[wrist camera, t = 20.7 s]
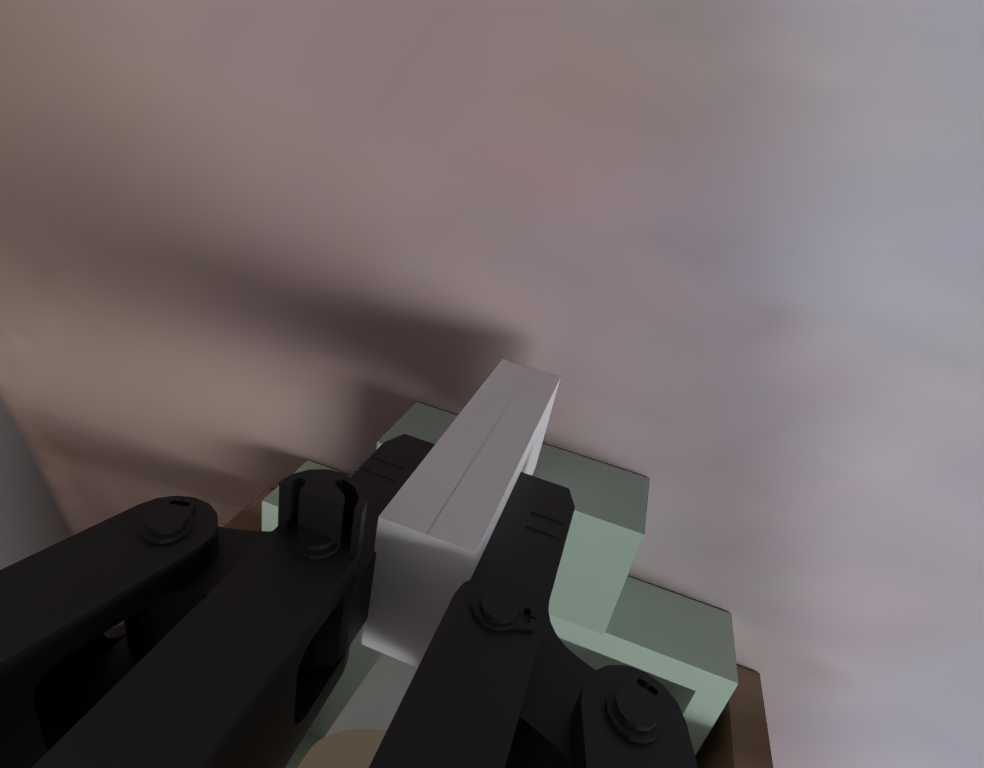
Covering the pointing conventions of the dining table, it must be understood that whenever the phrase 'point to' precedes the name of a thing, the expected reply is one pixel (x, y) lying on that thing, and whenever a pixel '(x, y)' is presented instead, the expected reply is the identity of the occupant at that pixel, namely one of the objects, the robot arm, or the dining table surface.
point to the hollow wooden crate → (733, 738)
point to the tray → (587, 592)
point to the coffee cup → (363, 718)
